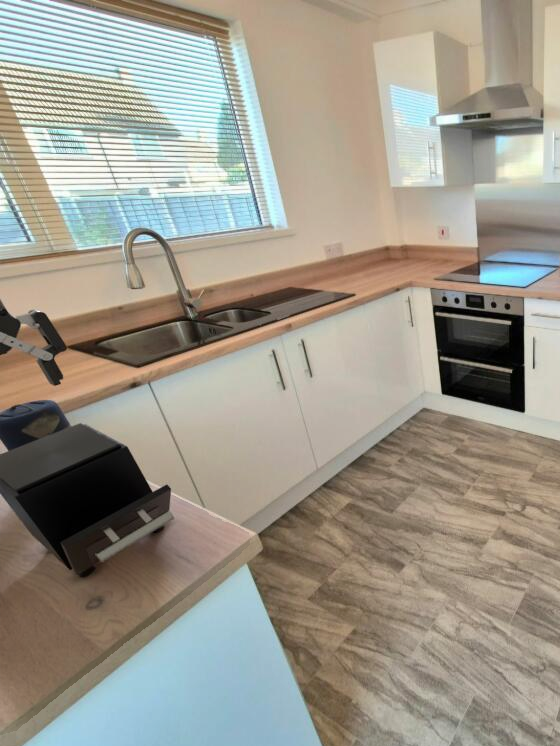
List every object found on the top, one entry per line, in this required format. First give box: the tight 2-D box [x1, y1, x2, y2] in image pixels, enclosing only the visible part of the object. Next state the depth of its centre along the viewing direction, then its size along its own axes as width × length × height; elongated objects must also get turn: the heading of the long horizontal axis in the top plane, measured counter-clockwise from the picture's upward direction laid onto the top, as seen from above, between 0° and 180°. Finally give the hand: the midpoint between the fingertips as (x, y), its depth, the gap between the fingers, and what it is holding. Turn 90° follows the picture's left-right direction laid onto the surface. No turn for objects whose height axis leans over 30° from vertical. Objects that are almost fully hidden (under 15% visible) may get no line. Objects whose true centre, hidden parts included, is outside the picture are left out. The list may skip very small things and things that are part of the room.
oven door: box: [60, 483, 175, 576], centre depth 65 cm, size 5×13×14 cm
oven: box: [0, 422, 165, 579], centre depth 70 cm, size 16×13×18 cm
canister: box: [0, 399, 72, 451], centre depth 86 cm, size 10×10×18 cm
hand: (14, 397), depth 58 cm, fingers open, 8 cm apart
